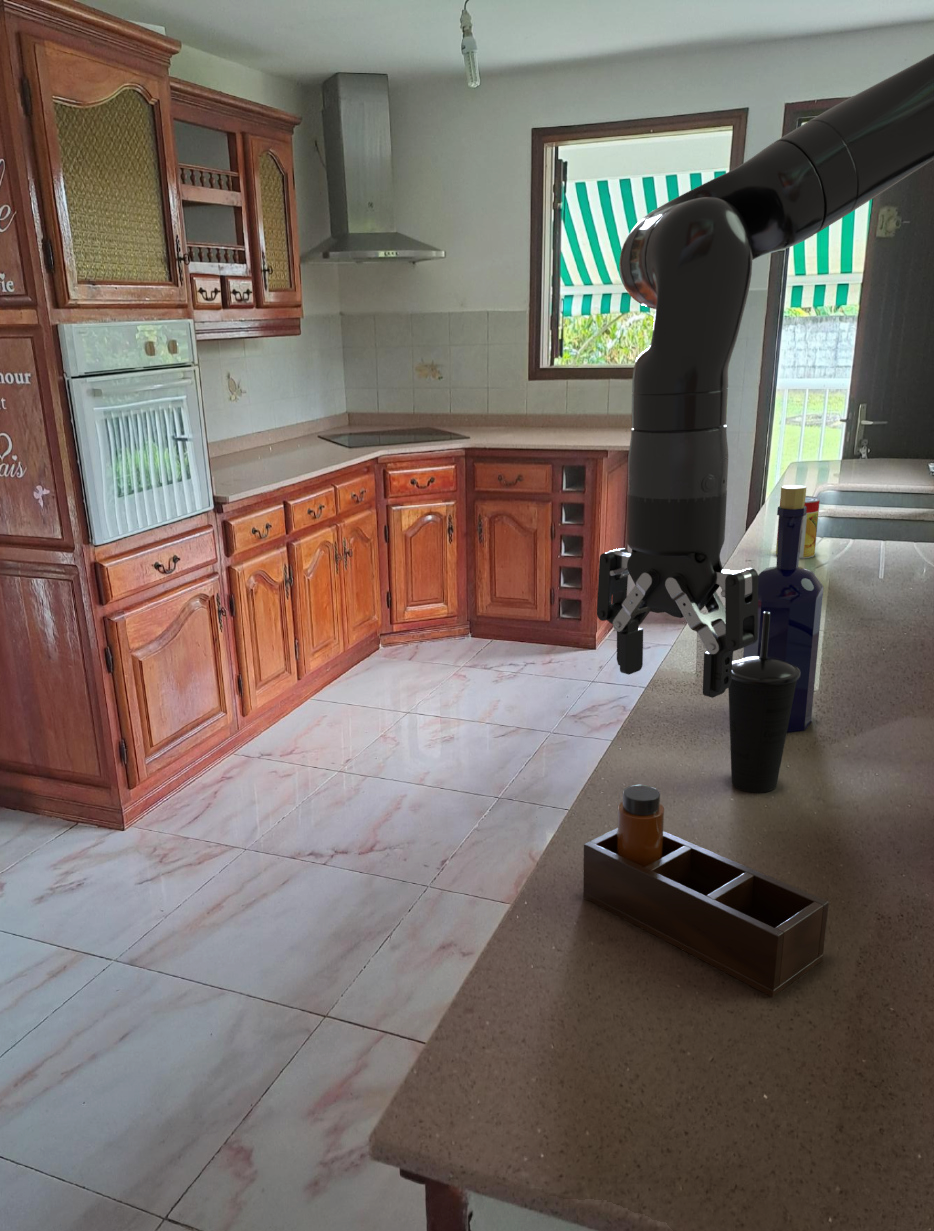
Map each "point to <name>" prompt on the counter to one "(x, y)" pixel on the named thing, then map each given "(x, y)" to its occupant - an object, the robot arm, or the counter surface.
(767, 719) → the drinking cup
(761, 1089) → the counter surface
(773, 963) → the holder
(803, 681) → the bottle
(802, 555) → the canned food
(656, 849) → the spice bottle
